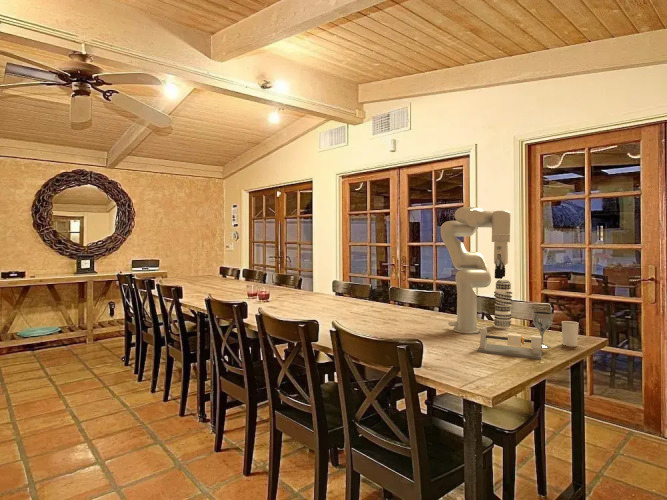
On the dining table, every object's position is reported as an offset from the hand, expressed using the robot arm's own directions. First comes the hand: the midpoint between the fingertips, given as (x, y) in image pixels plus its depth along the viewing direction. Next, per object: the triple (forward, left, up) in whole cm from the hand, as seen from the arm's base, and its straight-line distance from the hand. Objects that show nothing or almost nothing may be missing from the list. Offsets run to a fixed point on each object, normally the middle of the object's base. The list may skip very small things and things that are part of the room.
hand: (499, 277), depth 192 cm
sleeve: (+7, -10, -27) cm, 29 cm away
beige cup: (+28, +16, -30) cm, 44 cm away
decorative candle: (-3, +42, -30) cm, 52 cm away
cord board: (+6, -10, -30) cm, 32 cm away
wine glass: (+17, +7, -30) cm, 35 cm away
